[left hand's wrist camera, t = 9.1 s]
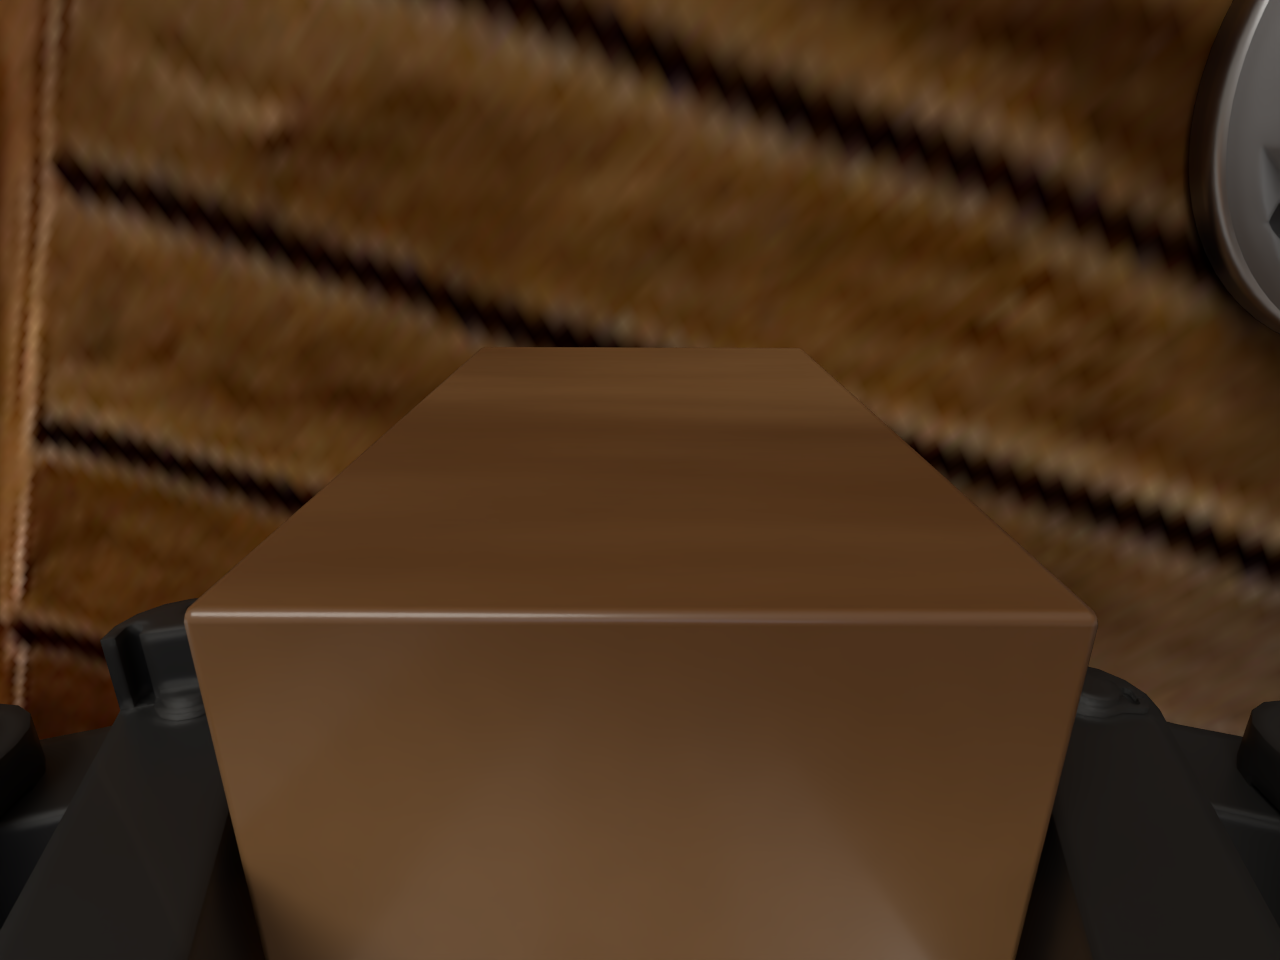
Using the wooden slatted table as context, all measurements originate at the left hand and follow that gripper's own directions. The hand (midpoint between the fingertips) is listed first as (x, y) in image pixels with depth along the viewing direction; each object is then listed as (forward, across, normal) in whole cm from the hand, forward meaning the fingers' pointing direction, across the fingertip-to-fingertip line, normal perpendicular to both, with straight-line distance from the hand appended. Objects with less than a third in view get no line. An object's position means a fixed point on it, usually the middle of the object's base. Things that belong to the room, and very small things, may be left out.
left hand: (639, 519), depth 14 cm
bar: (+1, 0, -10) cm, 10 cm away
